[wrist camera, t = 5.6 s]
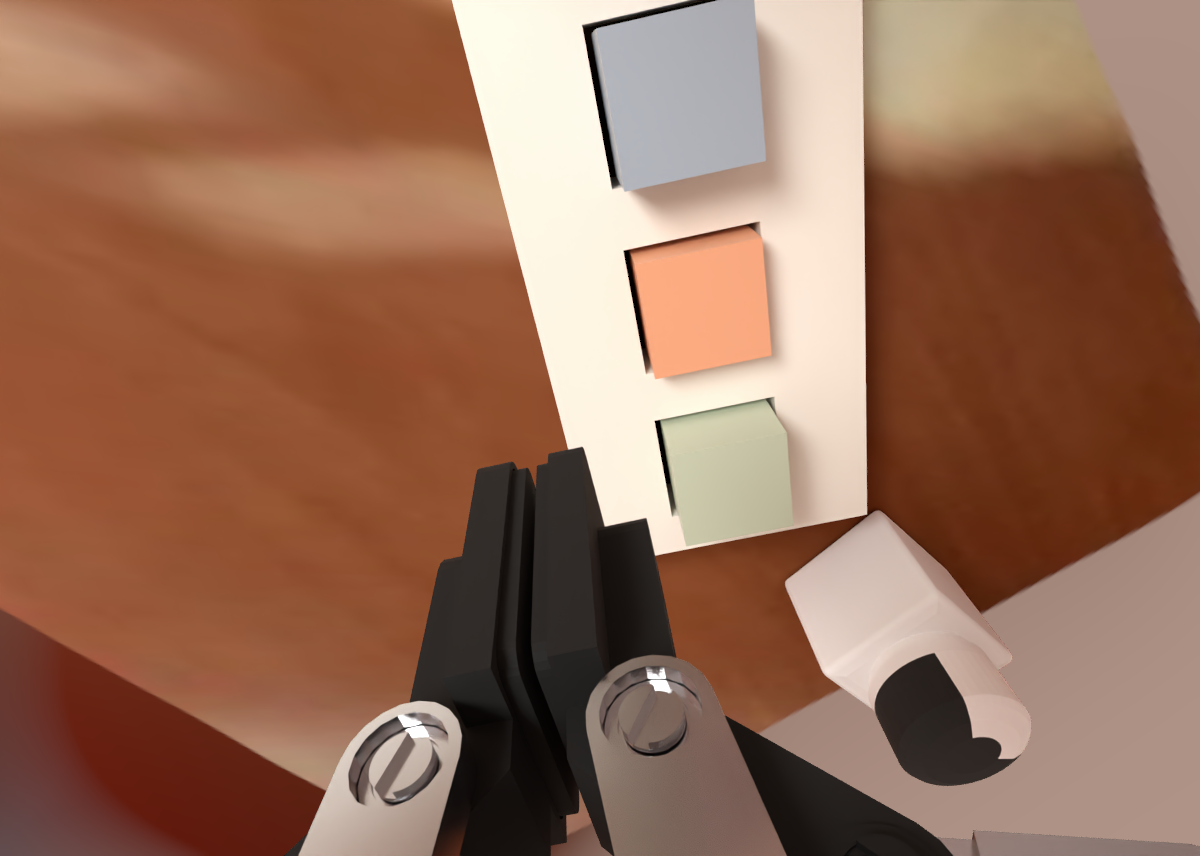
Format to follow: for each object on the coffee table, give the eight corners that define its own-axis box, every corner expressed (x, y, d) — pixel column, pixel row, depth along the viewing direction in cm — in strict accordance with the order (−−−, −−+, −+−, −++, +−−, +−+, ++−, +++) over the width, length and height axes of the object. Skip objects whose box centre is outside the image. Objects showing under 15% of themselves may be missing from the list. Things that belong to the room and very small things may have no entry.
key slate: (590, 34, 25) (595, 28, 21) (725, 3, 24) (753, -8, 21) (616, 175, 27) (624, 192, 23) (738, 148, 27) (766, 161, 23)
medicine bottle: (852, 636, 42) (950, 823, 32) (780, 580, 40) (860, 764, 29) (946, 568, 40) (1085, 746, 30) (876, 505, 38) (1000, 675, 27)
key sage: (658, 413, 32) (670, 455, 29) (761, 392, 32) (786, 432, 28) (673, 497, 34) (686, 546, 31) (769, 478, 34) (793, 525, 31)
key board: (458, -12, 25) (446, -22, 22) (828, -100, 24) (861, -120, 22) (596, 531, 37) (598, 566, 35) (845, 482, 37) (867, 514, 34)
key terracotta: (626, 241, 30) (635, 264, 26) (737, 217, 29) (762, 237, 26) (644, 345, 32) (655, 379, 28) (748, 323, 32) (771, 355, 28)
